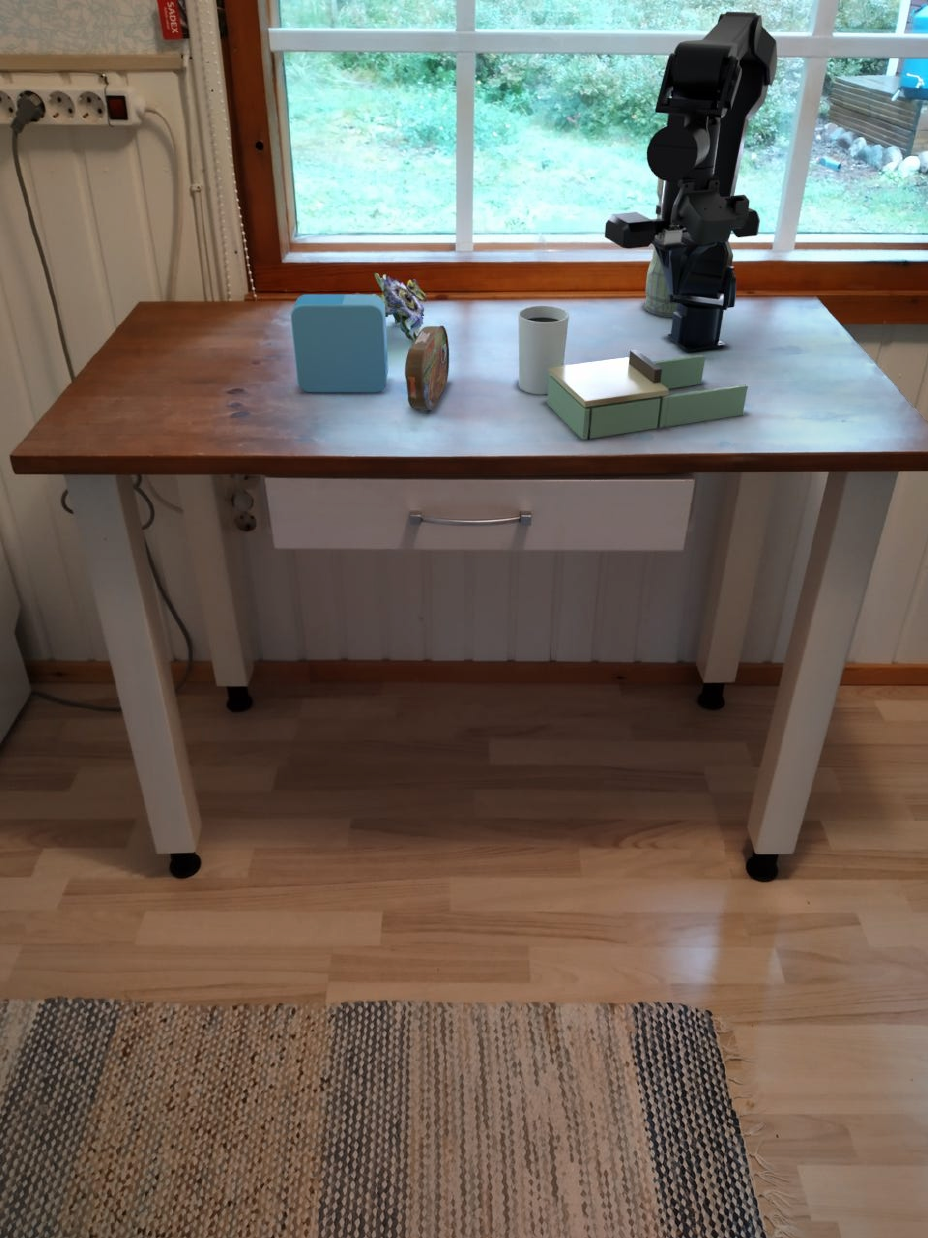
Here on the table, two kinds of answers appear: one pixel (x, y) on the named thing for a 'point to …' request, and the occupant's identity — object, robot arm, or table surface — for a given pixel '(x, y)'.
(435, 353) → the tin
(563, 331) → the white cup
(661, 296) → the thermos
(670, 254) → the robot arm
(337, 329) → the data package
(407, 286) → the passion flower
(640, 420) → the storage box
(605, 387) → the sliding lid
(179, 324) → the table surface
